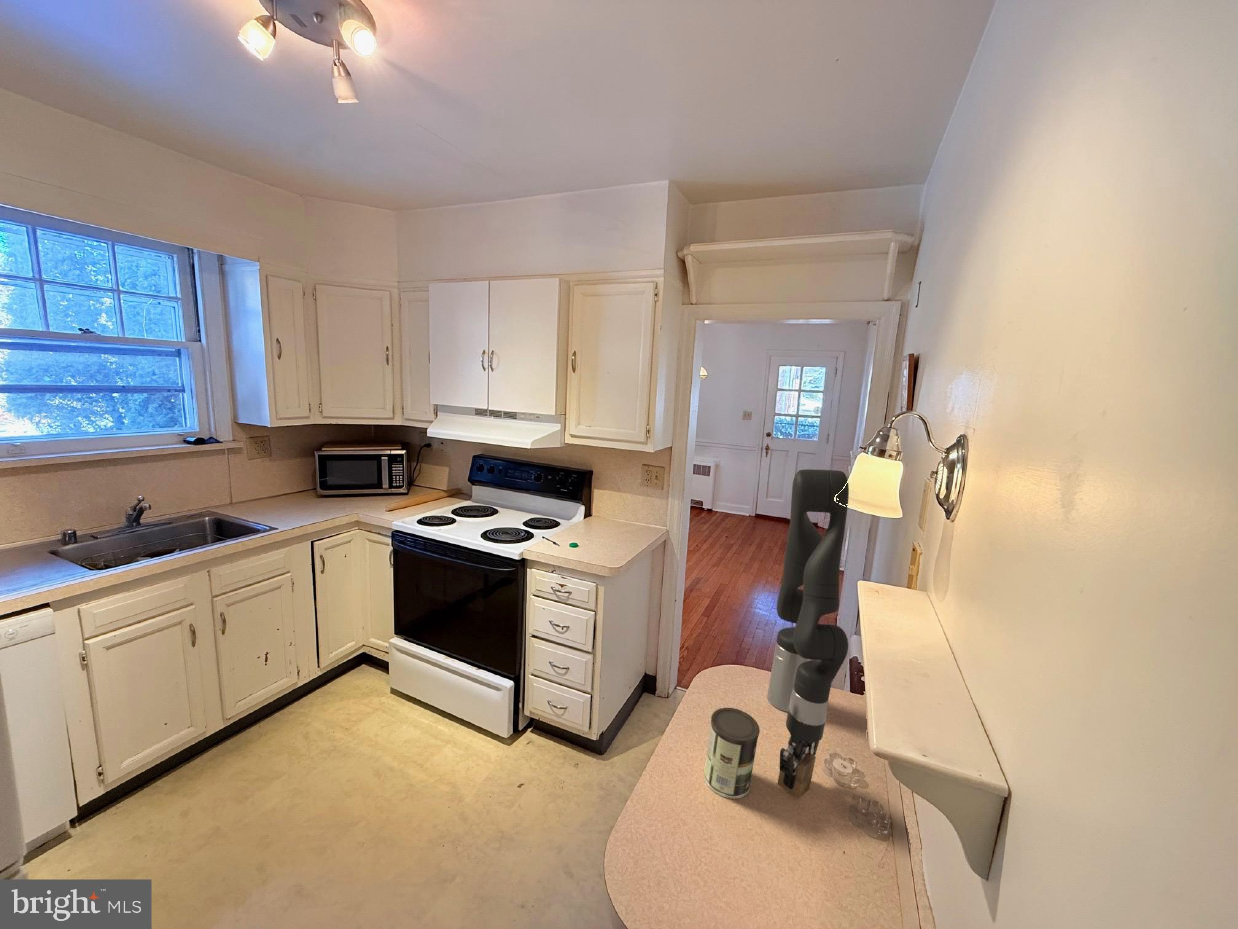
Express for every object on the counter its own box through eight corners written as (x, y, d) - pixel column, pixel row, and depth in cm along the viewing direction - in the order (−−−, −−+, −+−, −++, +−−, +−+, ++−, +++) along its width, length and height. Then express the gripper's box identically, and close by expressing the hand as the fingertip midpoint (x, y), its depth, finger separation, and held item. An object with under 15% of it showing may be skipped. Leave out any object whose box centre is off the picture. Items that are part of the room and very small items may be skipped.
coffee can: (744, 763, 113) (752, 709, 110) (755, 801, 103) (765, 743, 100) (699, 759, 113) (707, 704, 110) (706, 796, 103) (715, 738, 100)
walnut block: (789, 773, 111) (794, 742, 110) (809, 788, 107) (815, 756, 106) (777, 783, 108) (783, 752, 106) (798, 799, 104) (804, 767, 103)
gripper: (807, 690, 112) (795, 755, 115) (773, 714, 102) (761, 784, 105) (839, 709, 106) (826, 776, 109) (806, 736, 97) (793, 809, 100)
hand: (794, 779), depth 107 cm, fingers closed on walnut block, 5 cm apart
